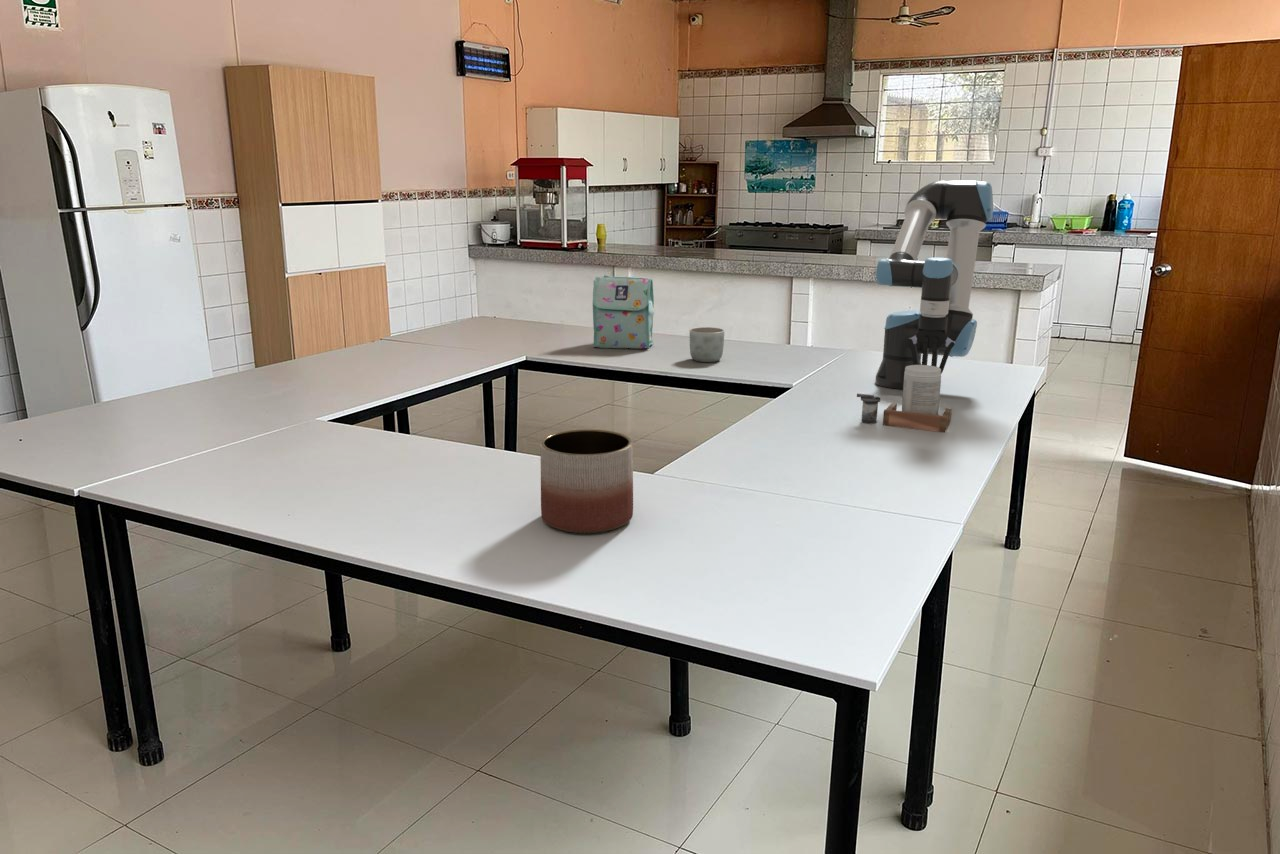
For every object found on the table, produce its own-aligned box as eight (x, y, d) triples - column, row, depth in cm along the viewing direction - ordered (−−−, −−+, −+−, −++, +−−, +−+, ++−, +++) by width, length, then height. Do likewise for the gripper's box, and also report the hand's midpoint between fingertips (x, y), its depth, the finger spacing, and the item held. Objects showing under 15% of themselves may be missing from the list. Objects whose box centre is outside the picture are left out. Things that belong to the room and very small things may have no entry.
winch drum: (857, 417, 251) (859, 391, 249) (880, 420, 249) (882, 394, 247) (853, 422, 247) (855, 395, 245) (876, 425, 244) (879, 398, 242)
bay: (890, 414, 255) (891, 400, 254) (950, 421, 248) (951, 407, 247) (882, 425, 244) (883, 410, 243) (945, 432, 238) (946, 417, 237)
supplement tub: (944, 422, 248) (950, 369, 244) (921, 427, 242) (926, 373, 238) (915, 414, 255) (920, 362, 251) (893, 419, 250) (897, 366, 246)
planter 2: (700, 355, 335) (701, 325, 332) (730, 359, 328) (731, 329, 325) (682, 360, 325) (682, 330, 322) (711, 365, 318) (712, 334, 316)
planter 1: (558, 542, 166) (556, 460, 162) (529, 510, 182) (527, 434, 177) (647, 528, 173) (648, 448, 169) (612, 498, 189) (612, 425, 184)
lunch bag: (589, 349, 346) (589, 277, 338) (598, 341, 361) (598, 272, 354) (649, 351, 342) (650, 279, 335) (656, 343, 358) (656, 274, 350)
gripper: (907, 315, 251) (900, 398, 258) (956, 318, 246) (948, 403, 253) (911, 311, 258) (904, 392, 265) (959, 314, 253) (951, 397, 260)
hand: (926, 397), depth 259 cm, fingers closed
